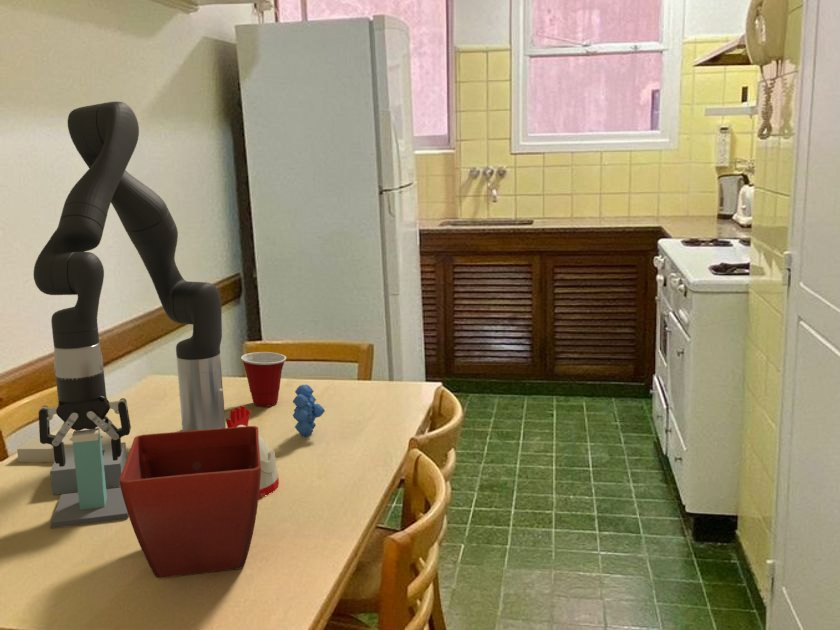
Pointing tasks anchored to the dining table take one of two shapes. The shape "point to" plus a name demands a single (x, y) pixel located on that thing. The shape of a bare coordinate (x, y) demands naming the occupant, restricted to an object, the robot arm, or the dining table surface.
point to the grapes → (306, 410)
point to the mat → (89, 510)
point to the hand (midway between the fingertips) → (89, 462)
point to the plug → (89, 468)
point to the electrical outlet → (47, 449)
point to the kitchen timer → (267, 457)
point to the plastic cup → (264, 376)
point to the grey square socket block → (66, 475)
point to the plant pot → (193, 498)
